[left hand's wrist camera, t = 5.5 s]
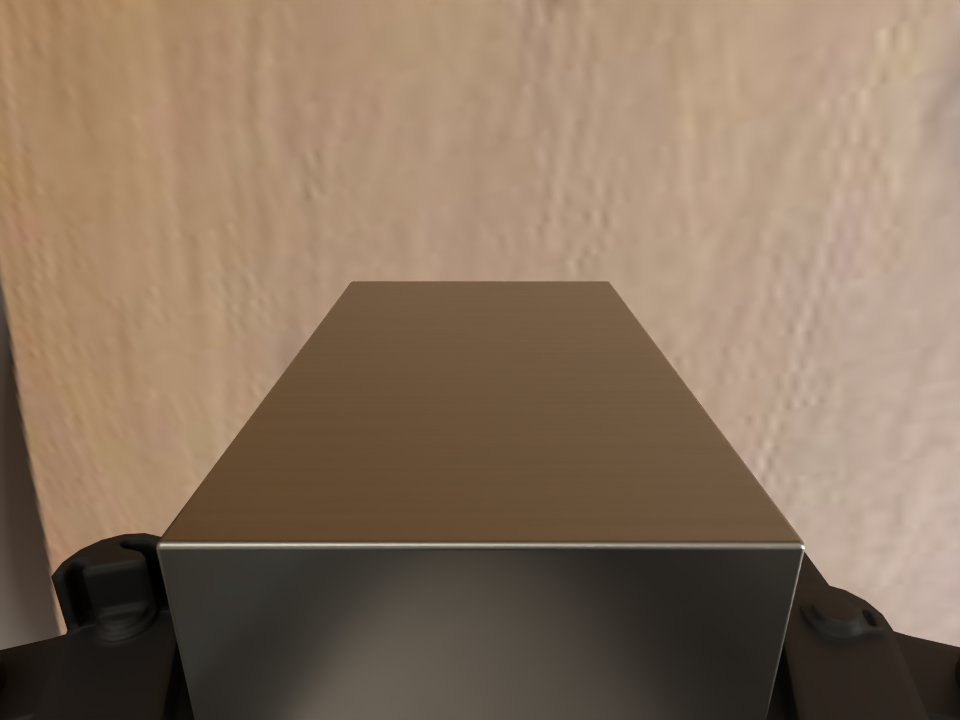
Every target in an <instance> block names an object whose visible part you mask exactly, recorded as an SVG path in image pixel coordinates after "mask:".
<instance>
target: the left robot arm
mask: <svg viewBox="0 0 960 720" xmlns="http://www.w3.org/2000/svg"><path fill="white" fill-rule="evenodd" d="M160 538H161V537H159V536H155V535H150V534H146V533H139V534H123V535H119V536H116V537H112V538H108V539H104V540H101V541H99V542H96V543H94V544H92V545H90V546H87V547H85V548H83V549H81V550H79V551H78V552H76V553H75V554H74V555H72V556H71V557H69V558H68V559H67V560H65V561H64V562H62V564H61V565H60V566H59V568H58V569H57V570H56V571H55V573H54V574H53V575H52V576H51V577H52V581H53V584H54V587H55V591H56V594H57V597H58V600H59V604H60V607H61V610H62V614H63V617H64V620H65V623H66V627H67V630H68V631H67V633H66V634H65V635H62V636H58V637H55V638H52V639H48V640H43V641H38V642H34V643H30V644H26V645H21V646H17V647H12V648H8V649H4V650H0V720H195V718H194V714H193V709H192V705H191V701H190V696H189V692H188V687H187V683H186V678H185V674H184V669H183V665H182V660H181V656H180V652H179V647H178V643H177V638H176V634H175V629H174V625H173V620H172V616H171V611H170V607H169V603H168V598H167V594H166V589H165V585H164V580H163V576H162V571H161V567H160V562H159V558H158V554H157V543H158V541H159V540H160ZM766 720H960V647H956V646H951V645H947V644H943V643H938V642H934V641H929V640H925V639H921V638H916V637H912V636H908V635H905V634H901V633H898V632H894V631H893V629H892V628H891V627H890V625H889V624H888V622H887V621H886V619H885V618H884V616H883V615H882V614H881V613H880V612H879V611H878V610H876V609H875V608H874V607H873V606H871V605H870V604H869V603H868V602H867V601H865V600H863V599H861V598H859V597H857V596H855V595H853V594H851V593H850V592H848V591H846V590H843V589H839V588H836V587H832V586H829V585H828V583H827V582H826V581H825V579H824V578H823V576H822V575H821V574H820V572H819V571H818V570H817V568H816V567H815V566H814V564H813V563H812V561H811V560H810V559H809V557H808V556H807V555H806V553H805V552H804V553H803V558H802V562H801V567H800V571H799V576H798V580H797V585H796V589H795V593H794V598H793V602H792V607H791V611H790V616H789V620H788V624H787V629H786V633H785V638H784V642H783V647H782V651H781V655H780V660H779V664H778V669H777V673H776V678H775V682H774V687H773V691H772V695H771V700H770V704H769V709H768V713H767V718H766Z"/></svg>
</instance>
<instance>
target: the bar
mask: <svg viewBox="0 0 960 720" xmlns="http://www.w3.org/2000/svg"><path fill="white" fill-rule="evenodd" d="M803 553H804V543H803V541H802V540H801V538H800V537H799V536H798V534H797V533H796V532H795V530H794V529H793V528H792V526H791V525H790V524H789V522H788V521H787V520H786V518H785V517H784V516H783V514H782V513H781V512H780V510H779V509H778V508H777V506H776V505H775V504H774V502H773V501H772V499H771V498H770V497H769V495H768V494H767V493H766V491H765V490H764V489H763V487H762V486H761V485H760V483H759V482H758V481H757V479H756V478H755V477H754V475H753V474H752V473H751V471H750V470H749V469H748V467H747V466H746V465H745V463H744V462H743V461H742V459H741V458H740V457H739V455H738V454H737V453H736V451H735V450H734V449H733V447H732V446H731V445H730V443H729V442H728V441H727V439H726V438H725V437H724V435H723V434H722V433H721V431H720V430H719V429H718V427H717V426H716V425H715V423H714V422H713V420H712V419H711V418H710V416H709V415H708V414H707V412H706V411H705V410H704V408H703V407H702V406H701V404H700V403H699V402H698V400H697V399H696V398H695V396H694V395H693V394H692V392H691V391H690V390H689V388H688V387H687V386H686V384H685V383H684V382H683V380H682V379H681V378H680V376H679V375H678V374H677V372H676V371H675V370H674V368H673V367H672V366H671V364H670V363H669V362H668V360H667V359H666V358H665V356H664V355H663V354H662V352H661V351H660V350H659V348H658V347H657V346H656V344H655V343H654V341H653V340H652V339H651V337H650V336H649V335H648V333H647V332H646V331H645V329H644V328H643V327H642V325H641V324H640V323H639V321H638V320H637V319H636V317H635V316H634V315H633V313H632V312H631V311H630V309H629V308H628V307H627V305H626V304H625V303H624V301H623V300H622V299H621V297H620V296H619V295H618V293H617V292H616V291H615V289H614V288H613V287H612V285H611V284H610V283H609V282H351V283H350V284H349V286H348V287H347V288H346V290H345V291H344V292H343V294H342V295H341V296H340V298H339V299H338V301H337V302H336V303H335V305H334V306H333V307H332V309H331V310H330V311H329V313H328V314H327V315H326V317H325V318H324V319H323V321H322V322H321V323H320V325H319V326H318V327H317V329H316V330H315V331H314V333H313V334H312V335H311V337H310V338H309V339H308V341H307V342H306V343H305V345H304V346H303V348H302V349H301V350H300V352H299V353H298V354H297V356H296V357H295V358H294V360H293V361H292V362H291V364H290V365H289V366H288V368H287V369H286V370H285V372H284V373H283V374H282V376H281V377H280V378H279V380H278V381H277V382H276V384H275V385H274V386H273V388H272V389H271V390H270V392H269V393H268V395H267V396H266V397H265V399H264V400H263V401H262V403H261V404H260V405H259V407H258V408H257V409H256V411H255V412H254V413H253V415H252V416H251V417H250V419H249V420H248V421H247V423H246V424H245V425H244V427H243V428H242V429H241V431H240V432H239V433H238V435H237V436H236V437H235V439H234V440H233V442H232V443H231V444H230V446H229V447H228V448H227V450H226V451H225V452H224V454H223V455H222V456H221V458H220V459H219V460H218V462H217V463H216V464H215V466H214V467H213V468H212V470H211V471H210V472H209V474H208V475H207V476H206V478H205V479H204V480H203V482H202V483H201V484H200V486H199V487H198V489H197V490H196V491H195V493H194V494H193V495H192V497H191V498H190V499H189V501H188V502H187V503H186V505H185V506H184V507H183V509H182V510H181V511H180V513H179V514H178V515H177V517H176V518H175V519H174V521H173V522H172V523H171V525H170V526H169V527H168V529H167V530H166V531H165V533H164V534H163V536H162V537H161V538H160V540H159V541H158V543H157V554H158V558H159V562H160V567H161V571H162V576H163V580H164V585H165V589H166V594H167V598H168V603H169V607H170V611H171V616H172V620H173V625H174V629H175V634H176V638H177V643H178V647H179V652H180V656H181V660H182V665H183V669H184V674H185V678H186V683H187V687H188V692H189V696H190V701H191V705H192V709H193V714H194V718H195V720H766V718H767V713H768V709H769V704H770V700H771V695H772V691H773V687H774V682H775V678H776V673H777V669H778V664H779V660H780V655H781V651H782V647H783V642H784V638H785V633H786V629H787V624H788V620H789V616H790V611H791V607H792V602H793V598H794V593H795V589H796V585H797V580H798V576H799V571H800V567H801V562H802V558H803Z"/></svg>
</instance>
